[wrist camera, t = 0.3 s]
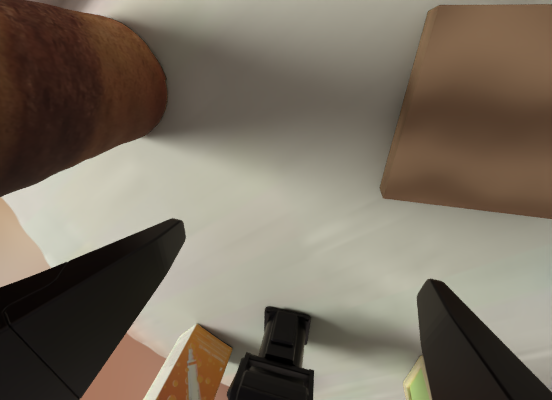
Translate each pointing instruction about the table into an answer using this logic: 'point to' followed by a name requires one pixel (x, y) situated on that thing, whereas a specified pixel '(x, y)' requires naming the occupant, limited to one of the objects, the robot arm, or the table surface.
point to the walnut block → (478, 112)
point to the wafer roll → (69, 90)
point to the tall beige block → (417, 382)
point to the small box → (192, 368)
